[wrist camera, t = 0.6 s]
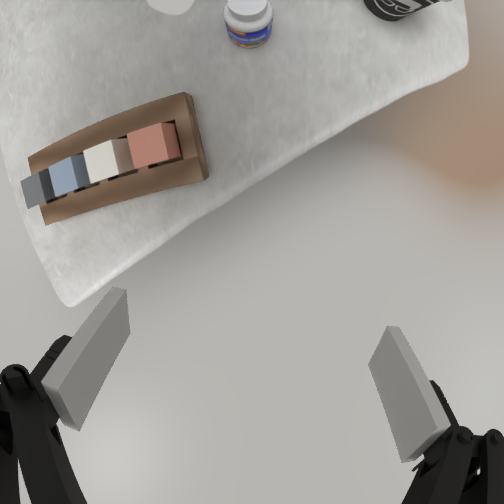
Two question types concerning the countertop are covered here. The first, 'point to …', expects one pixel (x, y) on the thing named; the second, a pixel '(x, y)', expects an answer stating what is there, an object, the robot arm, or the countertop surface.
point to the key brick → (153, 144)
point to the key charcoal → (38, 188)
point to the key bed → (134, 181)
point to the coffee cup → (397, 7)
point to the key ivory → (108, 159)
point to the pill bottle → (248, 21)
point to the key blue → (69, 174)
